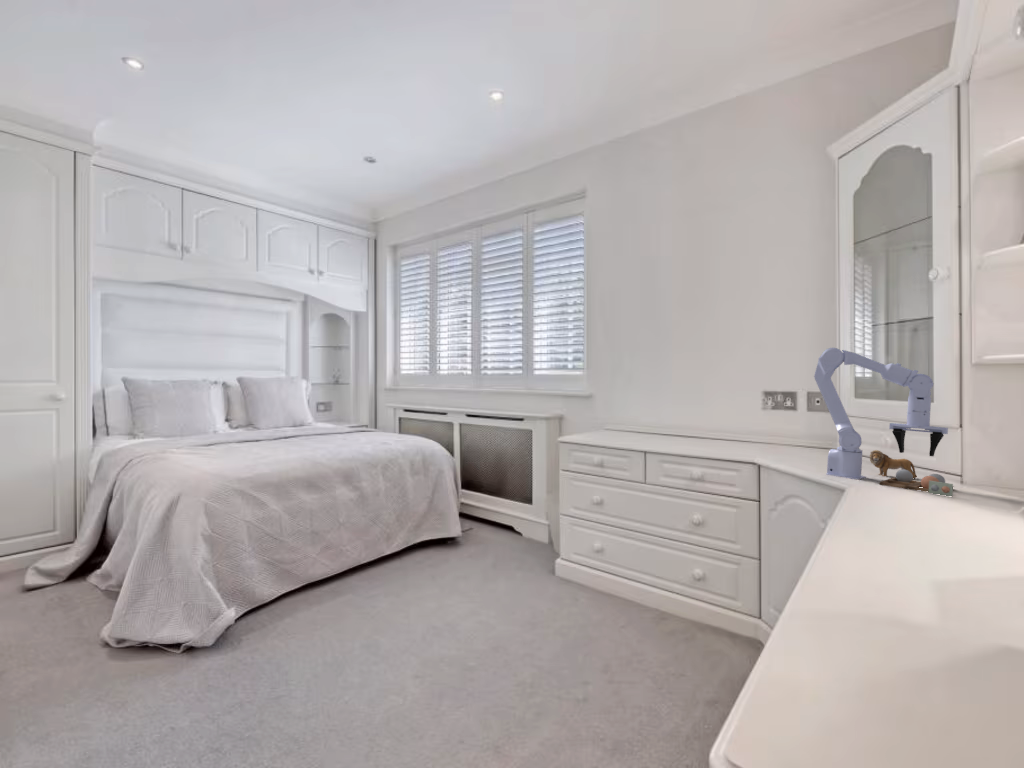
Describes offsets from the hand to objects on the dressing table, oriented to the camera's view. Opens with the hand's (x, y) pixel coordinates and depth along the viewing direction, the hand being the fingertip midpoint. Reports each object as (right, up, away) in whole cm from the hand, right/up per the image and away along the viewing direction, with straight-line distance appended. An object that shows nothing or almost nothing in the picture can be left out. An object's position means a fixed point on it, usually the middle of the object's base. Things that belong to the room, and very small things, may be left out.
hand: (916, 454), depth 162 cm
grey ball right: (+2, -10, -5) cm, 11 cm away
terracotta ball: (-4, -10, -10) cm, 14 cm away
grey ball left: (-3, -10, +1) cm, 10 cm away
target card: (-6, -10, -16) cm, 20 cm away
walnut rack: (-3, -10, -4) cm, 11 cm away
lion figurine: (+2, -10, +14) cm, 17 cm away
